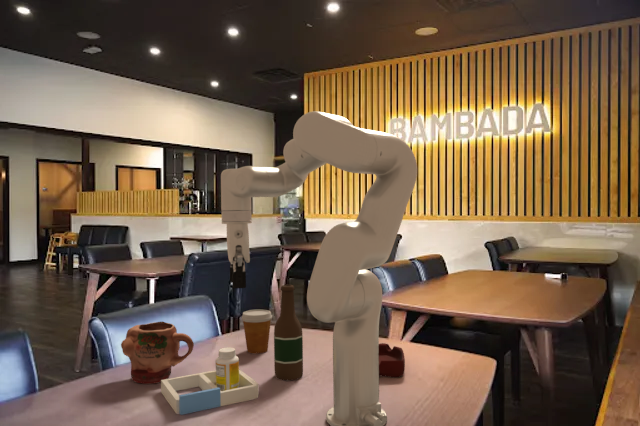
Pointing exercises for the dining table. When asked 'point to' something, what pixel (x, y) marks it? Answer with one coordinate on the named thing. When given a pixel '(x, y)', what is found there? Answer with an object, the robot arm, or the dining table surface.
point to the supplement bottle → (227, 369)
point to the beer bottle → (288, 339)
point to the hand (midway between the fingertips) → (237, 285)
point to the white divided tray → (206, 392)
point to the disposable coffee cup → (257, 330)
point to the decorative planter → (154, 351)
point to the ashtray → (391, 361)
